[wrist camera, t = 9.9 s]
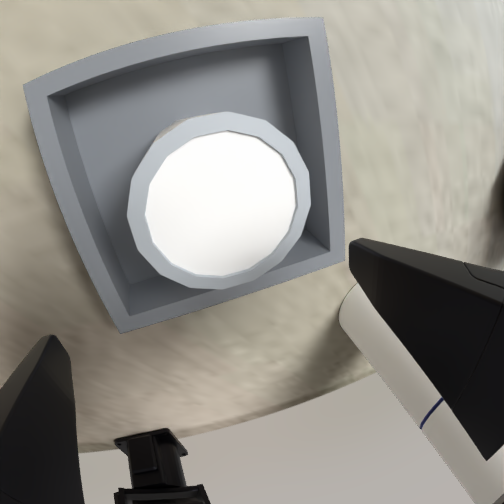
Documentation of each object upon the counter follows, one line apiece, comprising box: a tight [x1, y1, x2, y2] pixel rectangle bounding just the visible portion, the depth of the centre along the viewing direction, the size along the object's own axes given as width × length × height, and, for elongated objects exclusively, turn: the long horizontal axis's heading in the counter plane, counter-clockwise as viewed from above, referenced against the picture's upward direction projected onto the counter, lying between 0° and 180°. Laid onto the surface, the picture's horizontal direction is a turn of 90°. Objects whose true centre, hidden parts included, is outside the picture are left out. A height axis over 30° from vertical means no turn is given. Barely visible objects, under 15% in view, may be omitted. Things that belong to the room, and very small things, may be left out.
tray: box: [23, 17, 345, 334], centre depth 16 cm, size 14×14×4 cm
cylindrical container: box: [339, 283, 504, 504], centre depth 18 cm, size 7×7×25 cm
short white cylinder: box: [127, 112, 311, 290], centre depth 14 cm, size 7×7×7 cm
